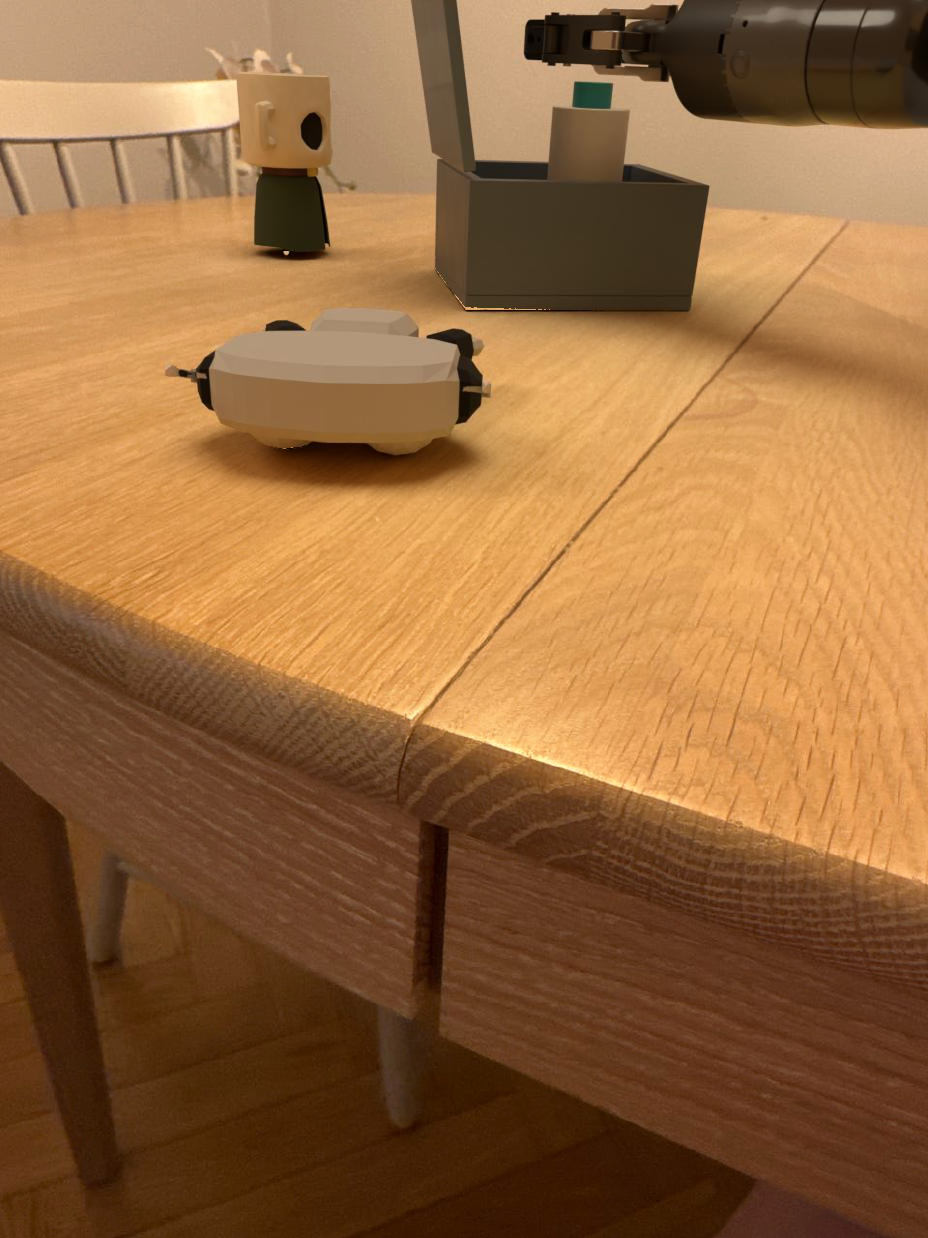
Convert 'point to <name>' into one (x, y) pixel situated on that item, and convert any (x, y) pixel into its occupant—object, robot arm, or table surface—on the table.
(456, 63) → the lid
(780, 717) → the table surface
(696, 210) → the dark grey open box
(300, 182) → the beige and green figure
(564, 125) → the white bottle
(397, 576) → the table surface
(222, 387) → the robot toy
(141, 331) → the table surface
